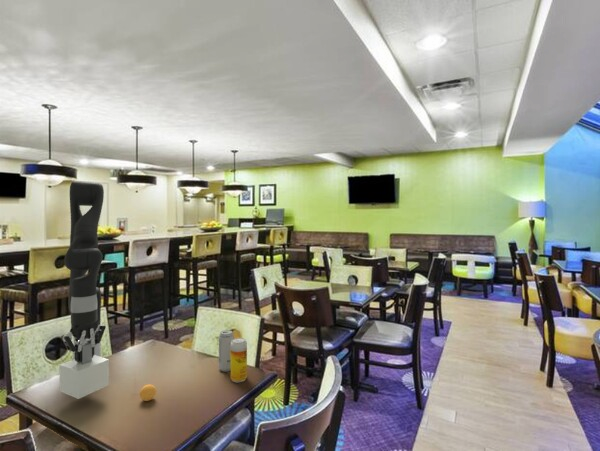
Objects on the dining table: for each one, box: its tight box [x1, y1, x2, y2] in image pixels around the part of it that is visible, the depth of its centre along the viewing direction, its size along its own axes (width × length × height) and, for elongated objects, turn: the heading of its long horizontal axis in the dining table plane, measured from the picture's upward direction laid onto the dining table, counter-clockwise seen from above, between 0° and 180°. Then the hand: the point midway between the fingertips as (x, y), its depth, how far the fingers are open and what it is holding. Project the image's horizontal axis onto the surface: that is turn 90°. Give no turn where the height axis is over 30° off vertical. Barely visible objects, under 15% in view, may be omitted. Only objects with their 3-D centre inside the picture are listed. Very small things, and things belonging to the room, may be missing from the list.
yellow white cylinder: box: [230, 337, 248, 383], centre depth 130 cm, size 6×6×15 cm
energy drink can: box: [218, 329, 235, 373], centre depth 139 cm, size 6×6×15 cm
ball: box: [139, 384, 157, 402], centre depth 115 cm, size 5×5×5 cm
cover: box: [59, 342, 110, 400], centre depth 114 cm, size 10×10×15 cm
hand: (84, 359), depth 114 cm, fingers closed on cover, 3 cm apart
